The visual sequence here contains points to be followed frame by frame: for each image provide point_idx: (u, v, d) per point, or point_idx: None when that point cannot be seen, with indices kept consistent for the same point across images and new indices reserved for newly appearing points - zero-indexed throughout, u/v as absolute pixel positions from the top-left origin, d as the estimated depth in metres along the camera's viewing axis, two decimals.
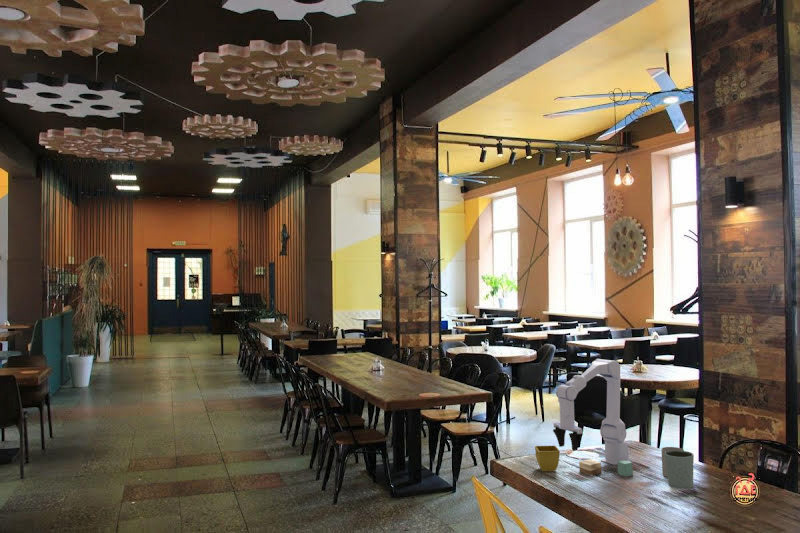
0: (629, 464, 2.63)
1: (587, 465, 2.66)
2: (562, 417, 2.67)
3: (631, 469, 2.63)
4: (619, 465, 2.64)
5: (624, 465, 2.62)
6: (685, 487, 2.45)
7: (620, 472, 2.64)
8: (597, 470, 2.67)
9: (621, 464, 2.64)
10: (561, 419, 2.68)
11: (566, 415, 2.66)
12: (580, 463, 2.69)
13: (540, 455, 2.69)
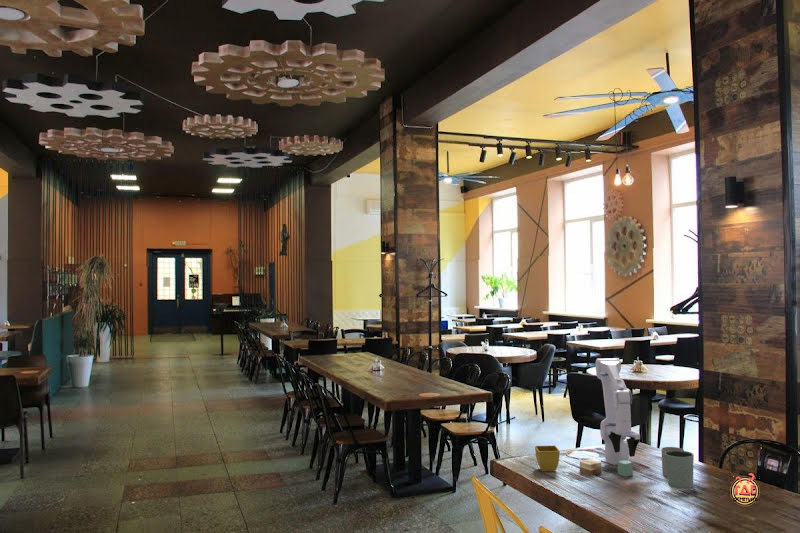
0: (629, 464, 2.63)
1: (587, 465, 2.66)
2: (619, 422, 2.63)
3: (631, 469, 2.63)
4: (619, 465, 2.64)
5: (624, 465, 2.62)
6: (685, 487, 2.45)
7: (620, 472, 2.64)
8: (597, 470, 2.67)
9: (621, 464, 2.64)
10: (617, 424, 2.64)
11: (629, 420, 2.63)
12: (580, 463, 2.69)
13: (540, 455, 2.69)
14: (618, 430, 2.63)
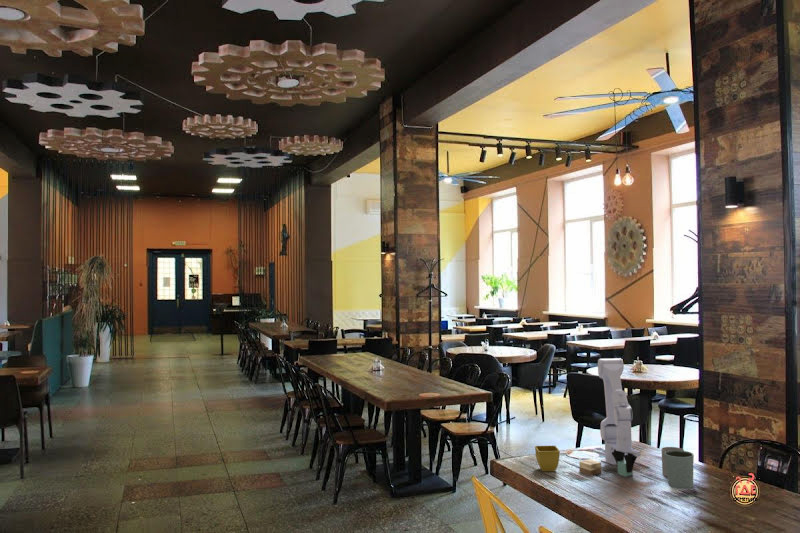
0: None
1: (587, 465, 2.66)
2: (619, 439, 2.63)
3: None
4: (619, 465, 2.64)
5: (624, 465, 2.62)
6: (685, 487, 2.45)
7: (620, 472, 2.64)
8: (597, 470, 2.67)
9: (621, 464, 2.64)
10: (618, 441, 2.64)
11: (630, 437, 2.62)
12: (580, 463, 2.70)
13: (540, 455, 2.69)
14: (619, 447, 2.63)
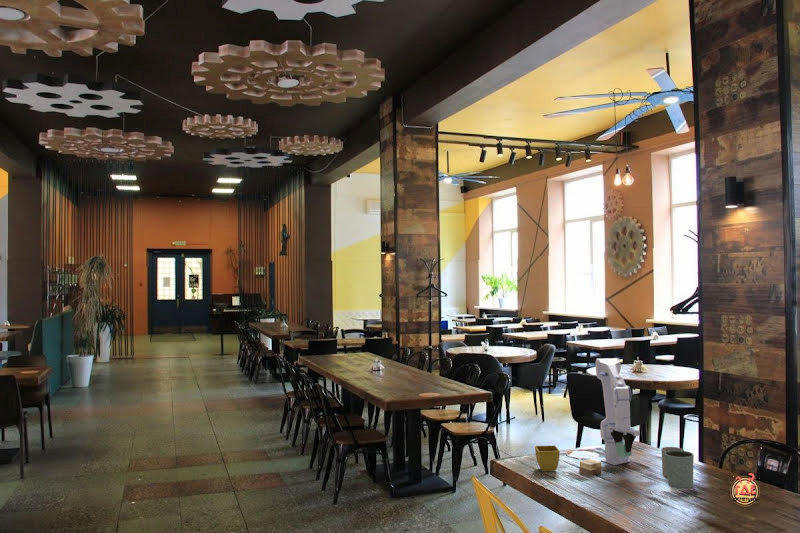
0: None
1: (588, 465, 2.66)
2: (618, 419, 2.63)
3: None
4: (618, 446, 2.64)
5: (623, 446, 2.62)
6: (685, 487, 2.45)
7: (619, 453, 2.64)
8: (597, 470, 2.67)
9: (619, 445, 2.64)
10: (617, 421, 2.64)
11: (628, 417, 2.63)
12: (580, 463, 2.69)
13: (540, 455, 2.69)
14: (617, 427, 2.64)
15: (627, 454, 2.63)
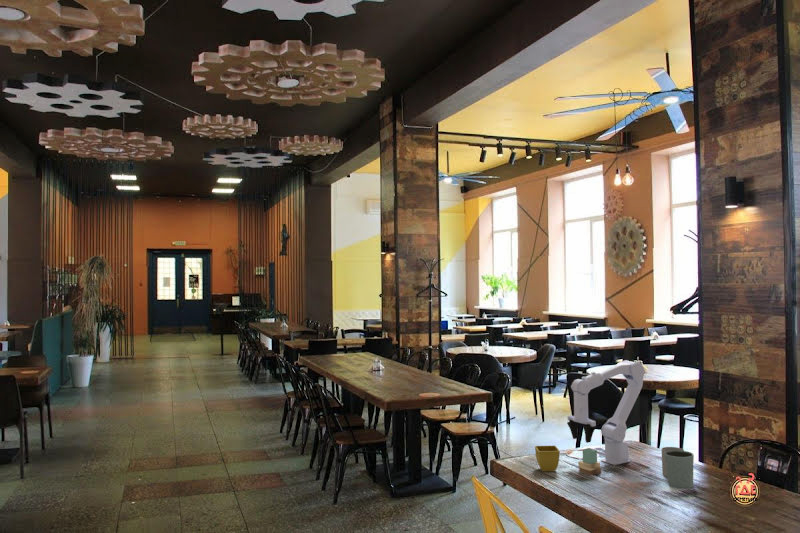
0: (594, 452, 2.67)
1: (587, 465, 2.66)
2: (576, 410, 2.78)
3: (596, 457, 2.68)
4: (584, 453, 2.68)
5: (589, 453, 2.66)
6: (685, 487, 2.45)
7: (586, 460, 2.68)
8: (597, 470, 2.67)
9: (586, 452, 2.68)
10: (575, 412, 2.78)
11: (578, 408, 2.77)
12: (579, 463, 2.69)
13: (540, 455, 2.69)
14: (576, 417, 2.78)
15: (593, 461, 2.67)
